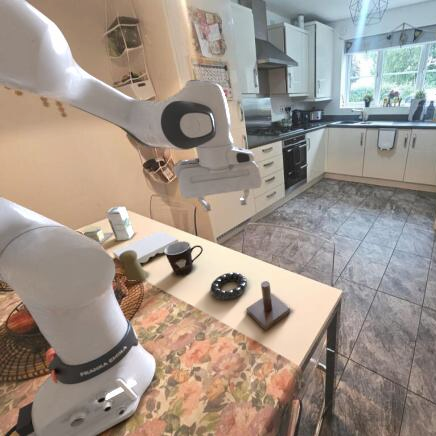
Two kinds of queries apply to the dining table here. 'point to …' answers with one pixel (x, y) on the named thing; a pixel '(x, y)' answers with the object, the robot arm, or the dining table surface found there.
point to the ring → (232, 293)
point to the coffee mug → (181, 257)
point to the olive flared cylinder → (132, 267)
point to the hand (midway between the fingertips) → (226, 207)
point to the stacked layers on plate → (95, 234)
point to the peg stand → (268, 308)
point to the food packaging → (148, 246)
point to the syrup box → (120, 223)
